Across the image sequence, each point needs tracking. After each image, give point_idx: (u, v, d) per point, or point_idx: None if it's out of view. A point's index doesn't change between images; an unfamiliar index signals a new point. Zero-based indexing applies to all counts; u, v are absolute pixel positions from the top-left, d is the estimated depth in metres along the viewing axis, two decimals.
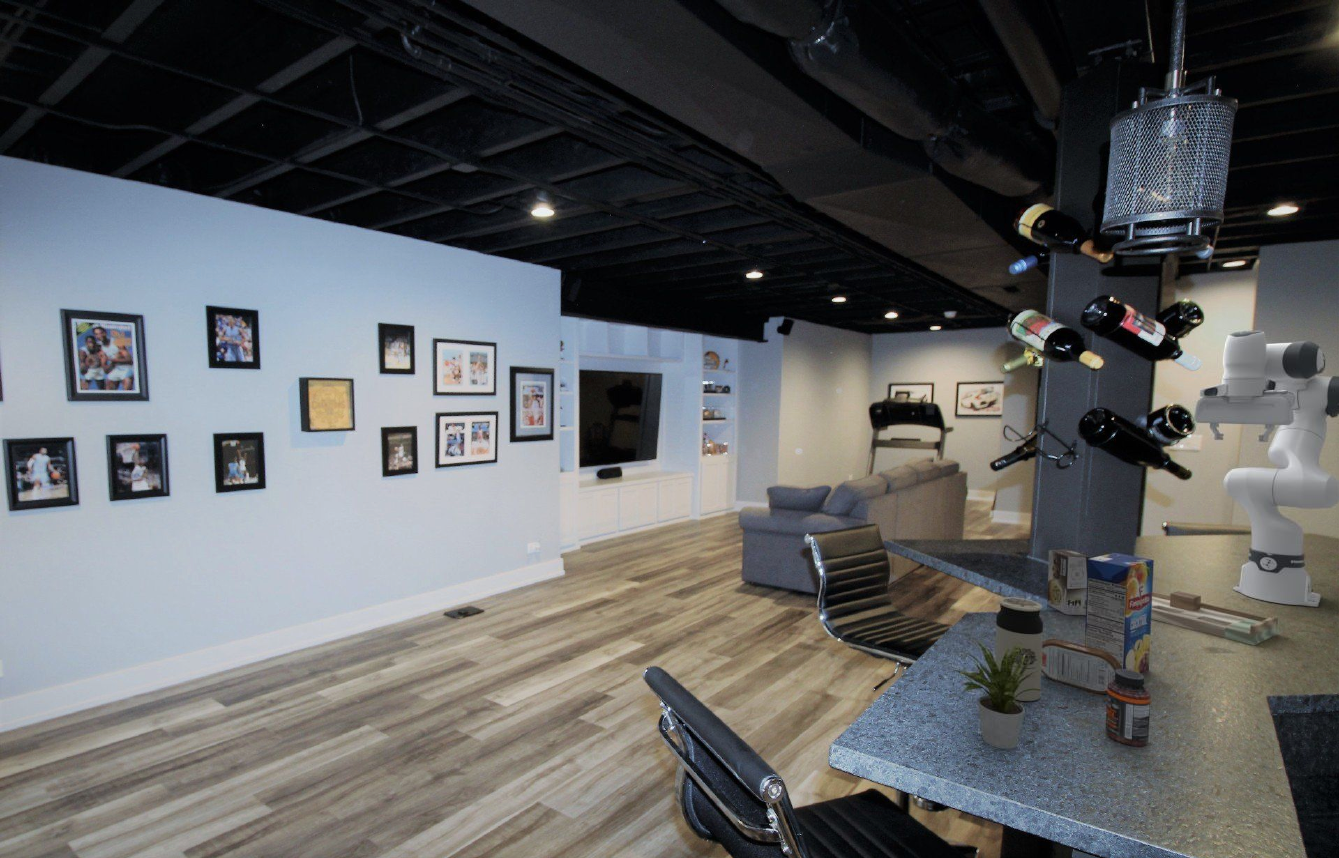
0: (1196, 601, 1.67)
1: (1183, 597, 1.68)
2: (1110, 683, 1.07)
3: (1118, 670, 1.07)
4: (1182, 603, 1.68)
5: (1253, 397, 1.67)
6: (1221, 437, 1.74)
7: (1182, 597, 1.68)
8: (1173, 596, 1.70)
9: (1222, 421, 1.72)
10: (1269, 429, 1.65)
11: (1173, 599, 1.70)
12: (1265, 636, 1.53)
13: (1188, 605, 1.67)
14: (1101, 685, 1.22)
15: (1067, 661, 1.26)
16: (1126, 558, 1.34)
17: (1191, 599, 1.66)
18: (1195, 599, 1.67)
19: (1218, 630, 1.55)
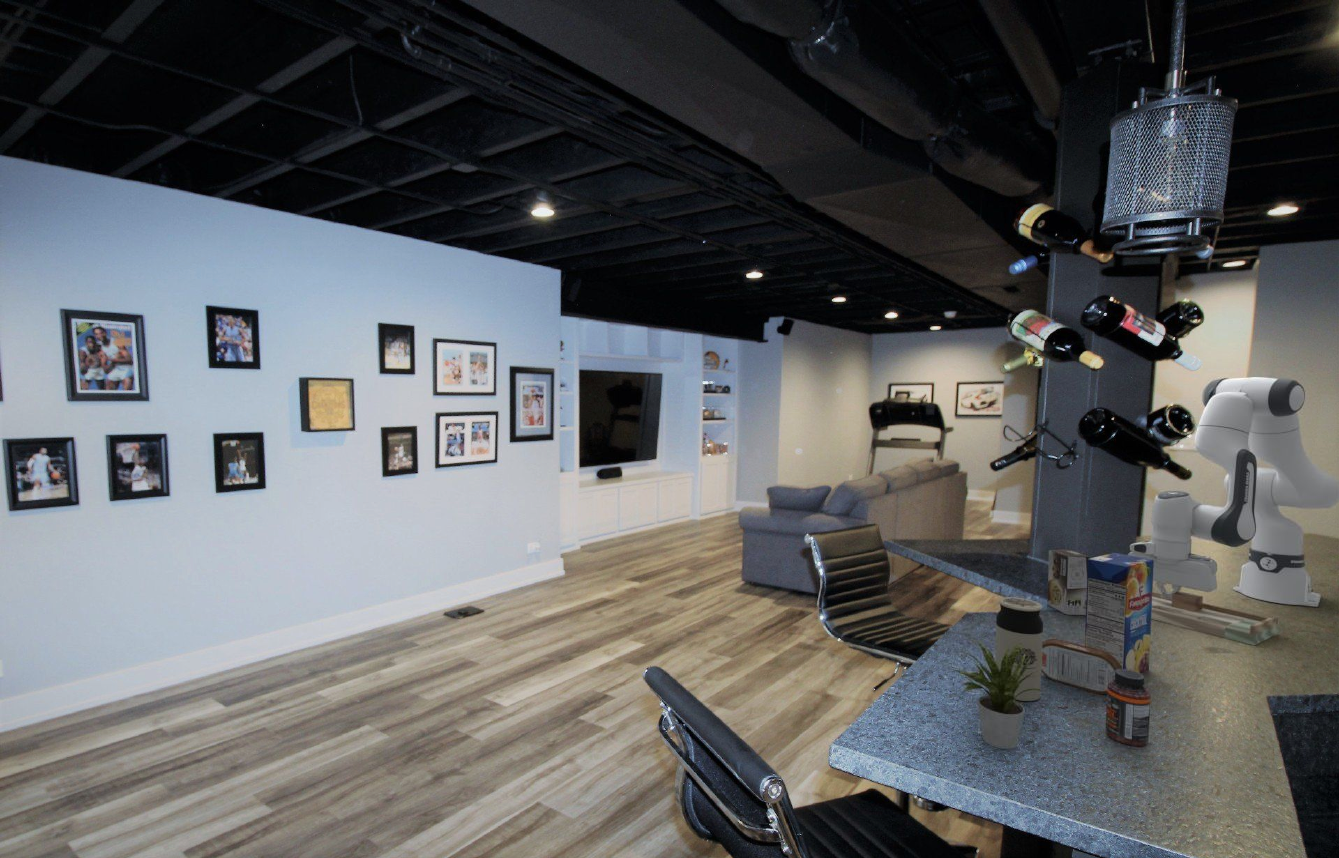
0: (1197, 601, 1.67)
1: (1185, 597, 1.68)
2: (1110, 683, 1.07)
3: (1118, 670, 1.07)
4: (1184, 603, 1.68)
5: (1179, 560, 1.69)
6: None
7: (1184, 597, 1.68)
8: (1175, 596, 1.70)
9: None
10: (1175, 589, 1.71)
11: (1175, 599, 1.70)
12: (1265, 636, 1.53)
13: (1190, 605, 1.67)
14: (1101, 685, 1.22)
15: (1067, 661, 1.26)
16: (1126, 558, 1.34)
17: (1193, 599, 1.66)
18: (1197, 599, 1.67)
19: (1218, 630, 1.55)
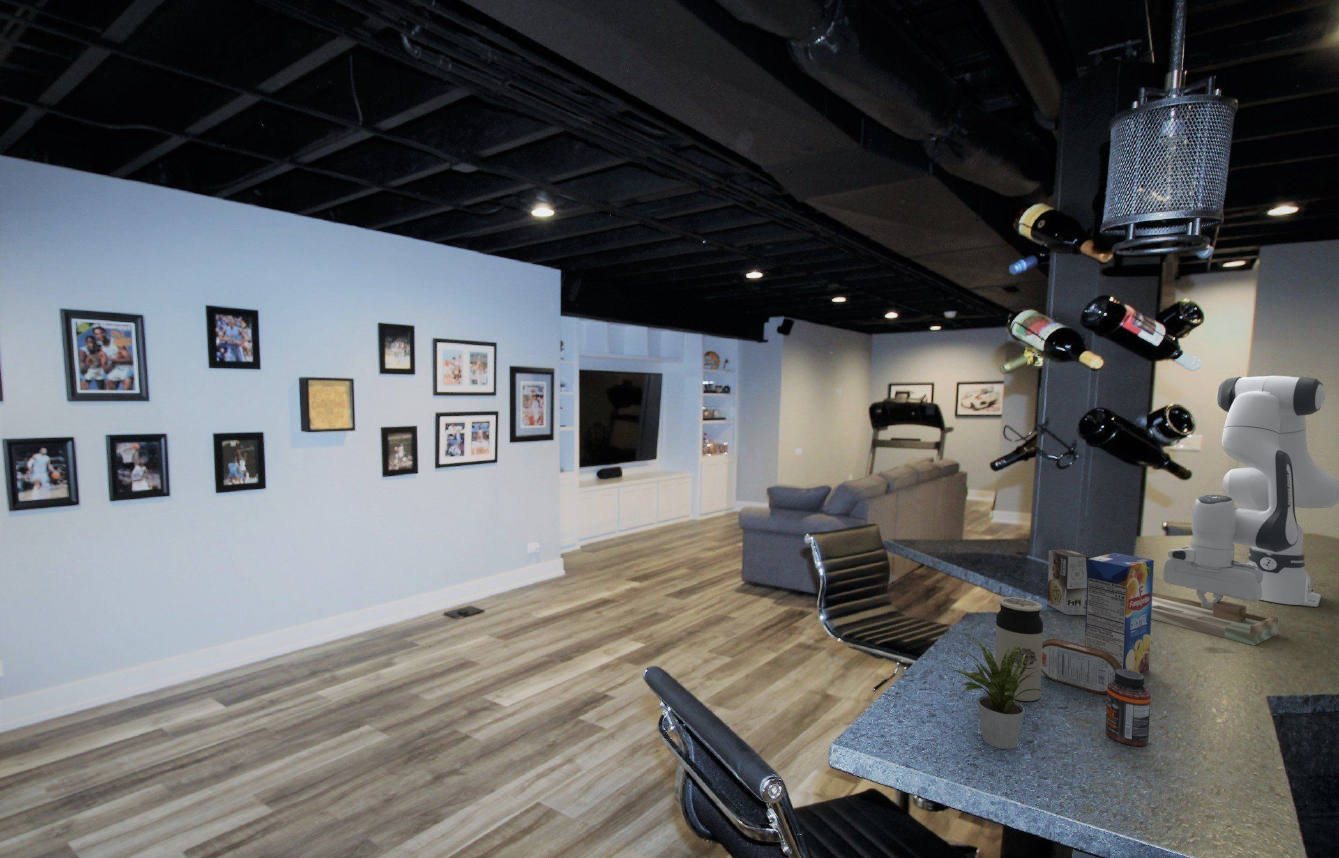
0: (1241, 612, 1.59)
1: (1227, 607, 1.60)
2: (1110, 683, 1.07)
3: (1118, 670, 1.07)
4: (1226, 614, 1.60)
5: (1221, 567, 1.61)
6: None
7: (1226, 607, 1.60)
8: (1216, 606, 1.62)
9: (1190, 586, 1.67)
10: (1217, 598, 1.63)
11: (1216, 609, 1.62)
12: (1265, 636, 1.53)
13: (1233, 615, 1.59)
14: (1101, 685, 1.22)
15: (1067, 661, 1.26)
16: (1126, 558, 1.34)
17: (1236, 609, 1.58)
18: (1240, 609, 1.59)
19: (1218, 630, 1.55)
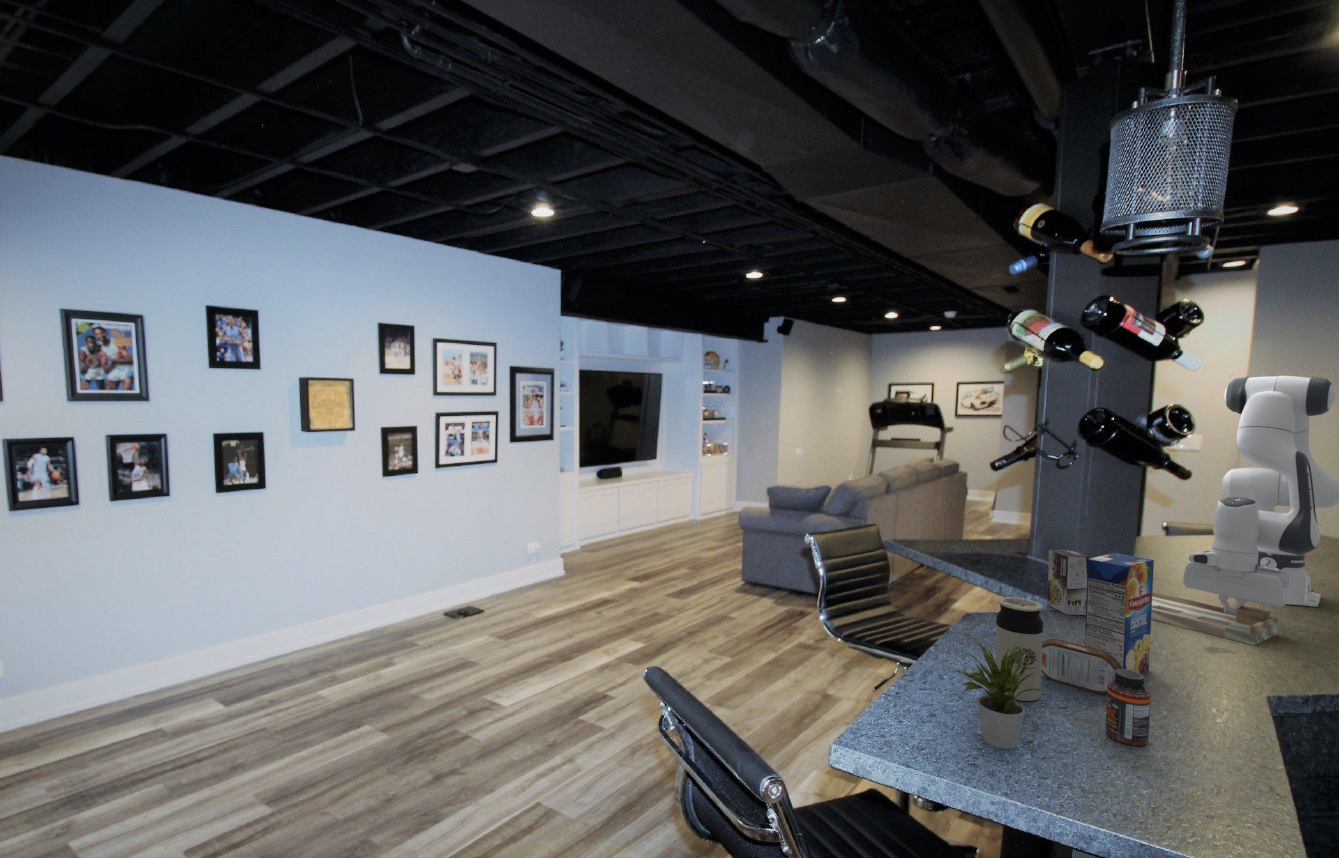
0: (1265, 617, 1.55)
1: (1251, 613, 1.56)
2: (1110, 683, 1.07)
3: (1118, 670, 1.07)
4: (1250, 619, 1.56)
5: (1245, 571, 1.57)
6: None
7: (1250, 613, 1.56)
8: (1240, 611, 1.58)
9: (1212, 591, 1.63)
10: (1240, 603, 1.59)
11: (1240, 615, 1.58)
12: (1265, 636, 1.53)
13: (1257, 621, 1.55)
14: (1101, 685, 1.22)
15: (1067, 661, 1.26)
16: (1126, 558, 1.34)
17: (1260, 615, 1.54)
18: (1265, 615, 1.55)
19: (1218, 630, 1.55)
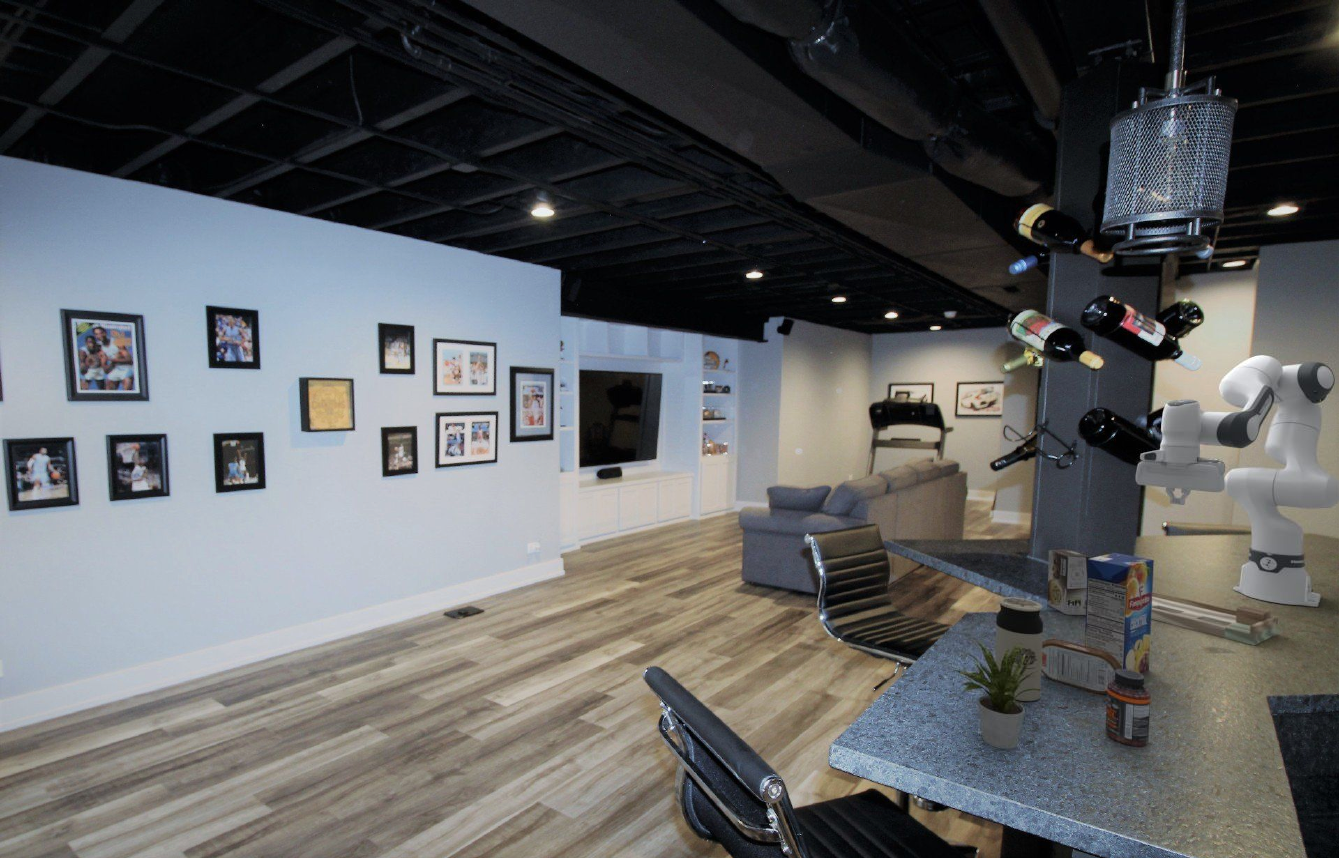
0: (1265, 617, 1.55)
1: (1251, 613, 1.56)
2: (1110, 683, 1.07)
3: (1118, 670, 1.07)
4: (1250, 619, 1.56)
5: (1188, 464, 1.76)
6: (1176, 501, 1.79)
7: (1250, 613, 1.56)
8: (1240, 611, 1.58)
9: (1160, 485, 1.81)
10: (1184, 493, 1.77)
11: (1240, 615, 1.58)
12: (1265, 636, 1.53)
13: (1257, 621, 1.55)
14: (1101, 685, 1.22)
15: (1067, 661, 1.26)
16: (1126, 558, 1.34)
17: (1260, 615, 1.54)
18: (1265, 615, 1.55)
19: (1218, 630, 1.55)
